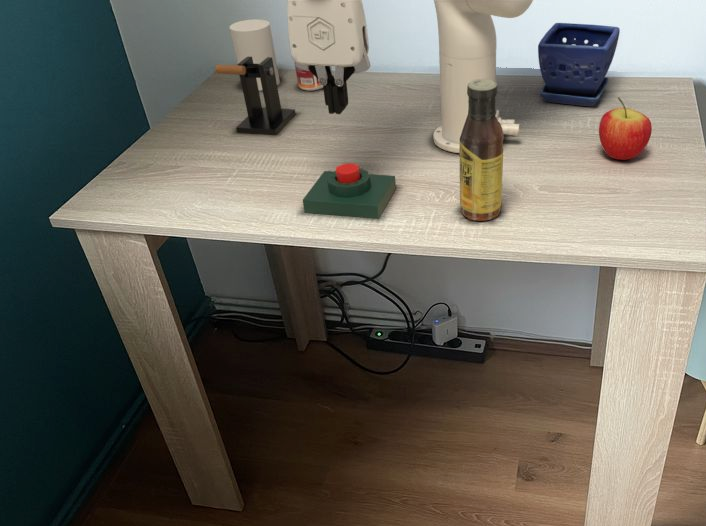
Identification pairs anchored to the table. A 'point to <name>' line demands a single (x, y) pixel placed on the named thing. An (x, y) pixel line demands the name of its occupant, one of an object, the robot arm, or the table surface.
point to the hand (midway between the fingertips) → (337, 110)
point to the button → (348, 173)
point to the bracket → (258, 117)
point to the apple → (624, 132)
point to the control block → (350, 195)
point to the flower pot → (576, 62)
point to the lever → (239, 70)
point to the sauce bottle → (481, 154)
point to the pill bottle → (307, 80)
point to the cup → (253, 43)
